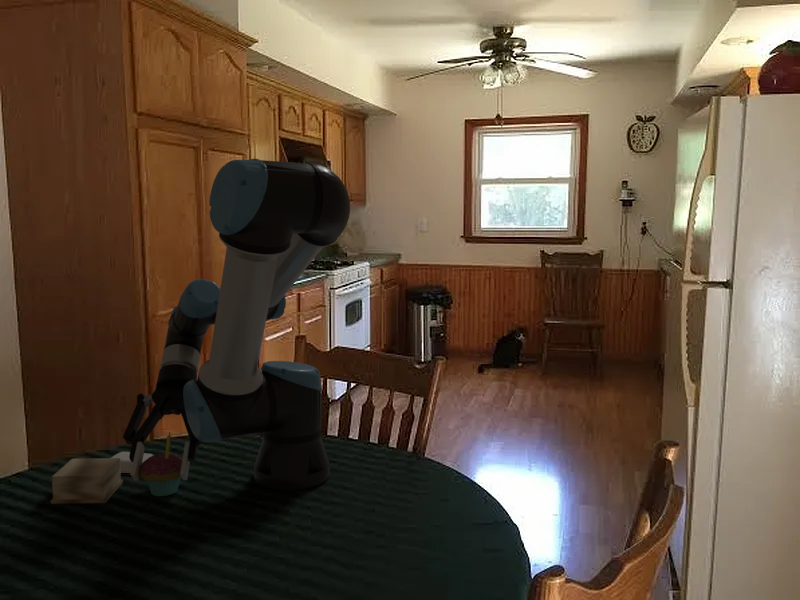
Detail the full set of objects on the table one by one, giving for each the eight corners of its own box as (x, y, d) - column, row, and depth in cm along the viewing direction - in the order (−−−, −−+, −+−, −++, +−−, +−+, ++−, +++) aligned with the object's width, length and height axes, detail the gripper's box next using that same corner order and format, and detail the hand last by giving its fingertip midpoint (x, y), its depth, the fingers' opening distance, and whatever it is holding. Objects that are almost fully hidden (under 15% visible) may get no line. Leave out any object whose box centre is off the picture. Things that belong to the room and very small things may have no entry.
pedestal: (122, 482, 133) (122, 457, 132) (105, 502, 124) (104, 476, 123) (72, 482, 132) (71, 458, 132) (50, 503, 123) (49, 477, 122)
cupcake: (196, 487, 131) (195, 427, 129) (164, 504, 123) (162, 440, 122) (162, 479, 135) (161, 421, 133) (129, 495, 127) (126, 433, 125)
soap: (101, 473, 138) (100, 459, 138) (120, 461, 145) (119, 448, 145) (142, 477, 137) (141, 463, 136) (159, 464, 144) (159, 451, 143)
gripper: (233, 381, 143) (219, 484, 129) (130, 381, 141) (106, 486, 127) (228, 362, 137) (213, 468, 123) (121, 362, 135) (94, 469, 121)
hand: (159, 477), depth 125 cm, fingers closed on cupcake, 8 cm apart
